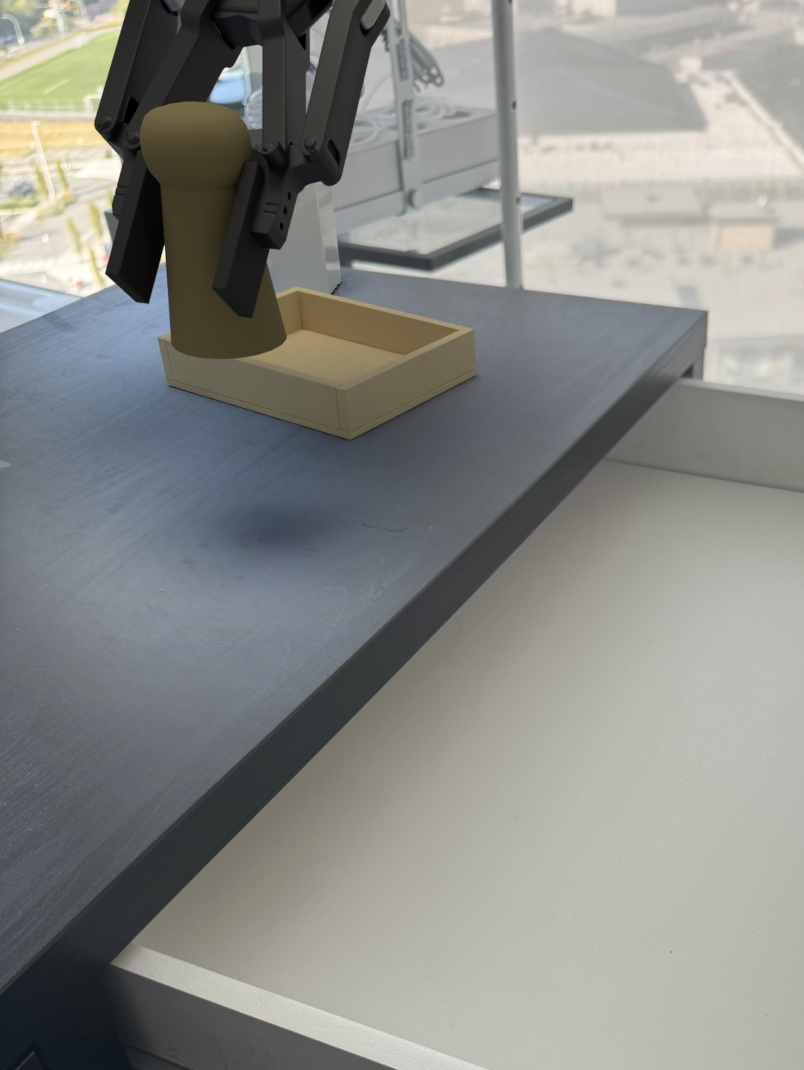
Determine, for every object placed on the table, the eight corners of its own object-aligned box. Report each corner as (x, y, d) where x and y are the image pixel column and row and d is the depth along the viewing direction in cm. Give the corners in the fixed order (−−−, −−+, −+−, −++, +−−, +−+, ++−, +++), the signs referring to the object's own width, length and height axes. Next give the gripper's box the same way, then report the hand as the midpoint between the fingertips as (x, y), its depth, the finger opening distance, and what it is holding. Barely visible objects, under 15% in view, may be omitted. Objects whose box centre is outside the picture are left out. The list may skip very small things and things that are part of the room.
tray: (167, 385, 86) (157, 337, 84) (302, 330, 96) (296, 285, 94) (350, 440, 79) (344, 389, 77) (476, 375, 89) (474, 328, 87)
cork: (150, 334, 63) (101, 100, 56) (252, 312, 66) (217, 88, 59) (204, 367, 59) (159, 123, 52) (308, 342, 62) (278, 108, 55)
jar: (262, 271, 108) (240, 124, 100) (349, 275, 107) (334, 128, 100) (231, 301, 101) (205, 147, 93) (324, 306, 100) (305, 151, 93)
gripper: (92, -211, 57) (-31, 232, 56) (435, -199, 54) (314, 277, 52) (173, -84, 65) (67, 312, 63) (480, -65, 61) (375, 356, 59)
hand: (179, 295), depth 58 cm, fingers closed on cork, 5 cm apart
